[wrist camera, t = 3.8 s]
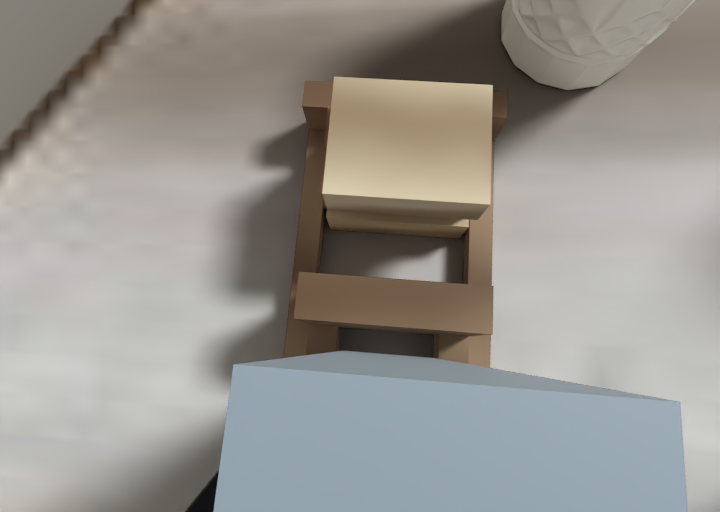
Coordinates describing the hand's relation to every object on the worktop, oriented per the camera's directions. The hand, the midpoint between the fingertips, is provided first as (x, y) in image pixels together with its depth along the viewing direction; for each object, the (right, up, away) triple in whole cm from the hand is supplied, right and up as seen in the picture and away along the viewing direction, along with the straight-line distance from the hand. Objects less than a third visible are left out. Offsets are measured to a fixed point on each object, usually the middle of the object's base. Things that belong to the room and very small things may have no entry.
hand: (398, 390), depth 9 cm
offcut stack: (+1, +6, +12) cm, 13 cm away
